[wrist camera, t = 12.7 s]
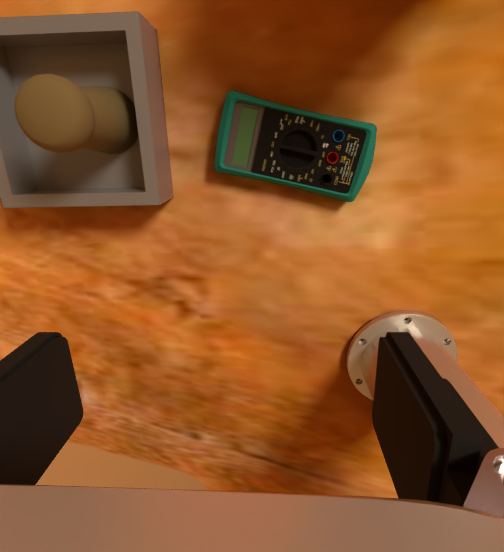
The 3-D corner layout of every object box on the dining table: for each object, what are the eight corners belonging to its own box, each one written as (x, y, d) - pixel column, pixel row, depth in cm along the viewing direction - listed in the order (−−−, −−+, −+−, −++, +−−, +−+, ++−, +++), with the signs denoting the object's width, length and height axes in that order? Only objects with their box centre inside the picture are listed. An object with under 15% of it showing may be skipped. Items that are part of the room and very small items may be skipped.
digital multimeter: (353, 200, 38) (360, 205, 35) (214, 169, 37) (210, 171, 35) (376, 127, 35) (386, 125, 33) (228, 91, 35) (224, 87, 32)
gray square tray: (173, 197, 38) (160, 204, 33) (35, 199, 39) (3, 207, 34) (156, 29, 33) (138, 11, 28) (-3, 36, 34) (-47, 19, 29)
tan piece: (127, 78, 34) (65, 51, 23) (148, 146, 36) (99, 148, 25) (67, 95, 34) (-19, 75, 24) (91, 160, 36) (20, 168, 26)
